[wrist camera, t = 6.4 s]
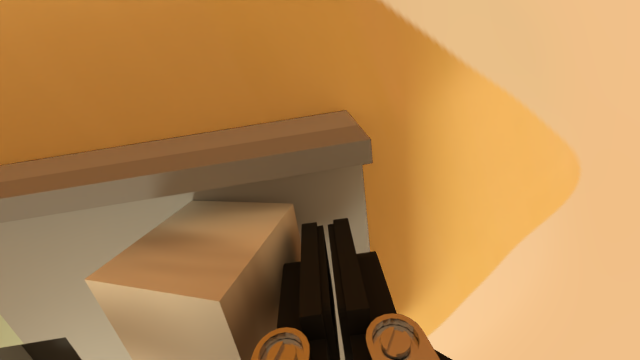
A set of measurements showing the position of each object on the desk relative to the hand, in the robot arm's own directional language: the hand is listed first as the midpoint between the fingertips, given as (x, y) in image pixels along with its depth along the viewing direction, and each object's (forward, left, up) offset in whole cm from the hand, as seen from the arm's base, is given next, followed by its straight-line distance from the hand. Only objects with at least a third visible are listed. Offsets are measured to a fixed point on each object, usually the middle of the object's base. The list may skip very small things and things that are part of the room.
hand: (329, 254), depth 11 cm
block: (0, +3, -1) cm, 3 cm away
